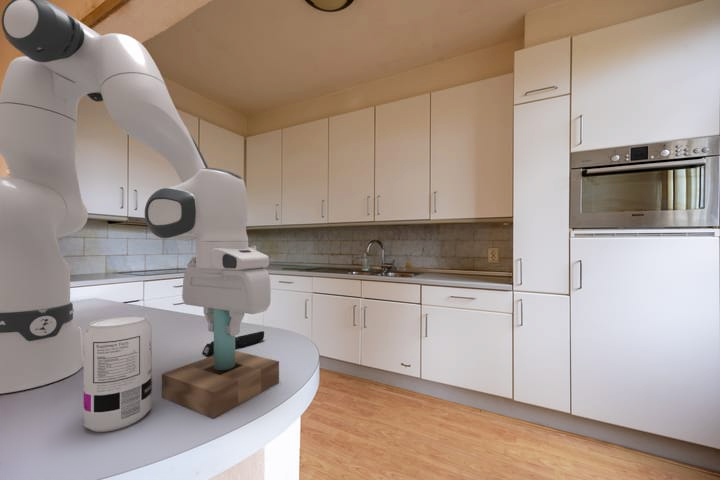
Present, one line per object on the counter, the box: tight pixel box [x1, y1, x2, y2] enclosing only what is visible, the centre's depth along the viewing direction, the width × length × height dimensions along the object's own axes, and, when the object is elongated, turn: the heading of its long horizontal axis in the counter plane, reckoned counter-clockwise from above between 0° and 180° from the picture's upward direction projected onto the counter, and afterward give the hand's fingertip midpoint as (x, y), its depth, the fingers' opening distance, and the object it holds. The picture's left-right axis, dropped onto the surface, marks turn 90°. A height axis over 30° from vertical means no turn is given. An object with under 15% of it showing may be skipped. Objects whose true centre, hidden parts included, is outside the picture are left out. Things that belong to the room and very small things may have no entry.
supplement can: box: [83, 314, 153, 433], centre depth 48 cm, size 8×8×15 cm
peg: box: [213, 309, 236, 370], centre depth 57 cm, size 4×4×12 cm
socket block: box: [161, 350, 280, 419], centre depth 57 cm, size 14×14×4 cm
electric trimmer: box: [201, 331, 265, 358], centre depth 80 cm, size 4×16×3 cm, turn 137°
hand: (223, 333), depth 57 cm, fingers closed on peg, 4 cm apart
